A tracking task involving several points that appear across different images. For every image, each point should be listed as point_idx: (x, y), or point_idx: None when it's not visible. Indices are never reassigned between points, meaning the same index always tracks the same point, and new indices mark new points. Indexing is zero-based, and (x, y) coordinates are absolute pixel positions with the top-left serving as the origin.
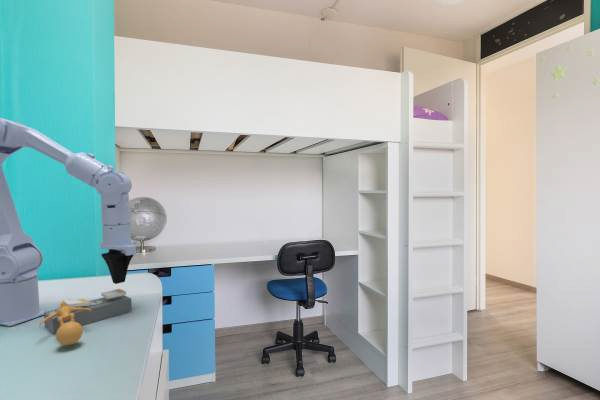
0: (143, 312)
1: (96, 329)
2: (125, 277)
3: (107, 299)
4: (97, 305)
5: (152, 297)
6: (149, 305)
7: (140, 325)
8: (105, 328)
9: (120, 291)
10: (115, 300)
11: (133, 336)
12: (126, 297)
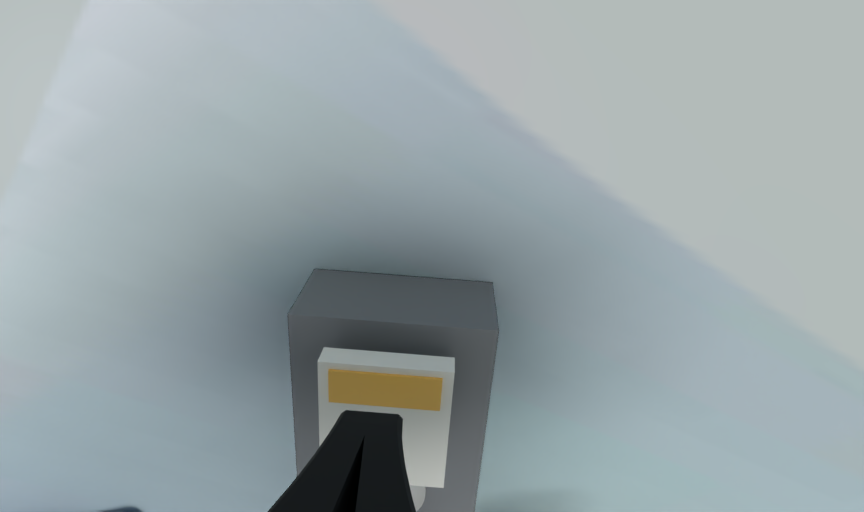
0: (589, 252)
1: (578, 486)
2: (402, 443)
3: None
4: (440, 496)
5: (319, 16)
6: (494, 151)
7: (762, 366)
8: (609, 464)
9: (418, 400)
10: None
11: (844, 446)
12: (447, 339)
